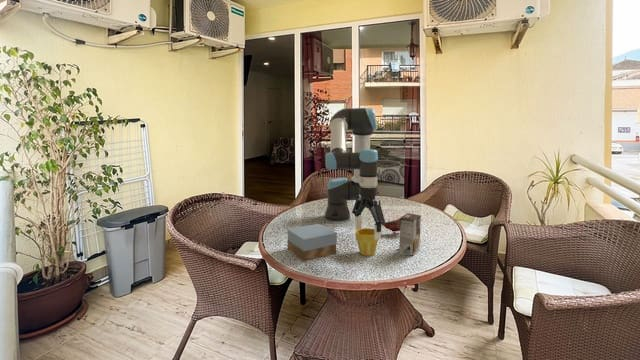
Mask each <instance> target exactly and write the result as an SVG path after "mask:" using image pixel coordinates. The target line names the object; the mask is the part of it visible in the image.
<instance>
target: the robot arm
mask: <svg viewBox="0 0 640 360" xmlns="http://www.w3.org/2000/svg"><path fill="white" fill-rule="evenodd" d="M376 118H377V117H376V111H375V110H374V109H373V108H370V107H358V108H357V107H356V108H354V107H353V108H351V107H350V108H347V107H346V108H342V109H340V110H337V112H335V113H334V114H333V115H332V117H331V118H330V121H329V127H328V128H329V130H330V144H329V145H330V147H329V148H330V149H329V150H330V151H329V152H326V153H325V168H326V169H327V170H334V171H335V170H353V176H351V178H350V180H348V178H347V177H337V178H333V179H330V180H328V182H327V187H326V189H327V205H326V209H325V212H324V218H325V219H326V220H327V221H337V222H340V221H341V222H342V221H347V220H349V219H350V218H351V214H354V219H355V220H354V222H355V232H356V230H358V229H362V213H363V211H364V210H365V209H368V211H370V214H371V215H372V218H373V221H374V224H373V225H374V228H373V229H374V239H375V240H377V239H379V240H381V235H382V234H381V233H382V225H381V224H384V223H386V220H385V217H384V212H383V209H382V205H381V200H380V199H376V196H377V195H378V187H377V186H378V164H379V163H378V161H379V153H378V150H377V149H374V148H373V149H371V136H372V135H374V131H376V130H377V119H376ZM347 131H351V134H352V135H353V136H354V149H353V150H354V151H353V152H347ZM348 201H355V202H354V205H353V208H352V210H351V211H352V213H350V209H349V207H348Z"/></svg>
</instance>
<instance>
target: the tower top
mask: <svg viewBox="0 0 640 360" xmlns="http://www.w3.org/2000/svg"><path fill="white" fill-rule="evenodd" d="M287 240H289V241H290V242H292V243H293V244H294V245H296V246H297V247H299V248H300V249H302V250H303V251H307V250H312V249H317V248H321V247H326V246H330V245H335V244H336V245H337V244H338V233H337V232H336V231H335V230H334V231H333V230H332V229H330V228H328V227H325V226H324V225H322V224H320V223H316V224H315V223H314V224H310V225H303V226H298V227H293V228H288V229H287Z"/></svg>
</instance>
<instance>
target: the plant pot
mask: <svg viewBox="0 0 640 360" xmlns="http://www.w3.org/2000/svg"><path fill="white" fill-rule="evenodd" d="M354 235H355V240H356V241H357V245H358V249H359V254H360V255H362V256H366V257H368V256H369V257H370V256H374V255H375V254H376V250H377V247H378V242H379V241H380V239H377V240H375V239H374V228H365V227H363V228H361V229H358V230H356V231H355V234H354Z"/></svg>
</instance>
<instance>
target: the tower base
mask: <svg viewBox="0 0 640 360" xmlns="http://www.w3.org/2000/svg"><path fill="white" fill-rule="evenodd" d="M286 241H287V250H288V251H289V252H291V253H292V254H293V255H295V256H296V257H297V258H298V259H300V260H301V261H302V262H307V261H310V260H316V259H320V258H325V257H328V256H329V257H330V256H333V255H336V254H337V244H335V245H330V246H326V247H321V248H317V249H312V250H307V251H303V250H302V249H300V248H299V247H297V246H296V245H294V244H293V243H292V242H290V241H289V240H288V239H287V240H286Z"/></svg>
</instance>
